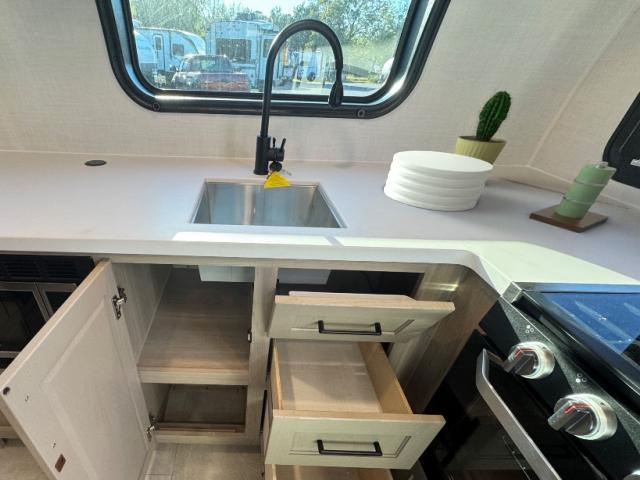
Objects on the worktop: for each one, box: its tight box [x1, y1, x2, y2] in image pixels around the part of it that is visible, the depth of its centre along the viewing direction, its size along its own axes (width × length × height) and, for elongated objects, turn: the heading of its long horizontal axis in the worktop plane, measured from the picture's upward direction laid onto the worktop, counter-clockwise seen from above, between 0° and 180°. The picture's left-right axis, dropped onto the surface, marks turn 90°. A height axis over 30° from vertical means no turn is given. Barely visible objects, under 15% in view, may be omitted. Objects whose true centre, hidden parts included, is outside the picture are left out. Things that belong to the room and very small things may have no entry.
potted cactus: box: [453, 90, 514, 166], centre depth 114 cm, size 15×15×30 cm
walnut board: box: [528, 203, 610, 234], centre depth 91 cm, size 18×12×2 cm, turn 119°
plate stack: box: [383, 150, 494, 212], centre depth 103 cm, size 28×28×12 cm
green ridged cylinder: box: [555, 160, 617, 218], centre depth 87 cm, size 7×7×14 cm
